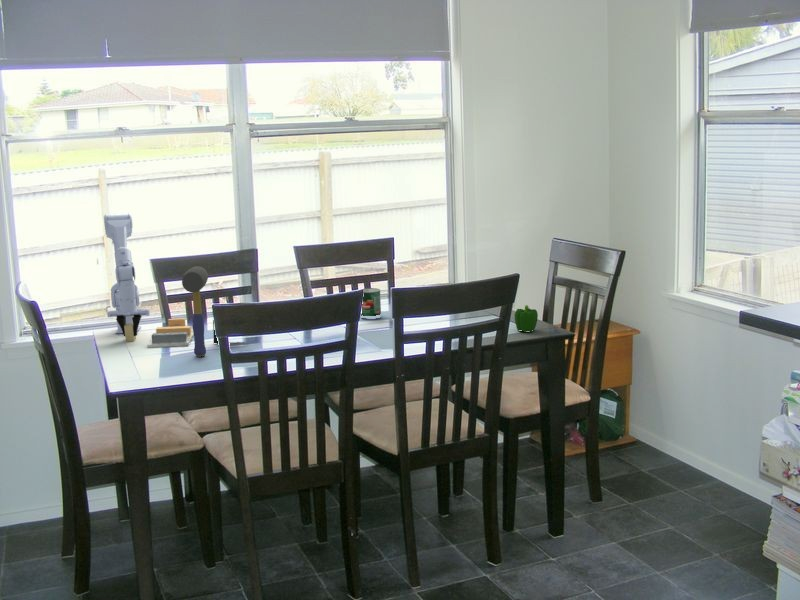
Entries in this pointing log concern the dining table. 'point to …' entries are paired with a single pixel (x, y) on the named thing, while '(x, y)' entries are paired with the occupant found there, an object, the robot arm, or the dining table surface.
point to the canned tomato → (371, 302)
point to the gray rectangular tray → (170, 339)
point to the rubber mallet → (196, 304)
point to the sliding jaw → (175, 326)
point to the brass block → (129, 332)
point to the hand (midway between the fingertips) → (130, 335)
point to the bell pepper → (526, 319)
